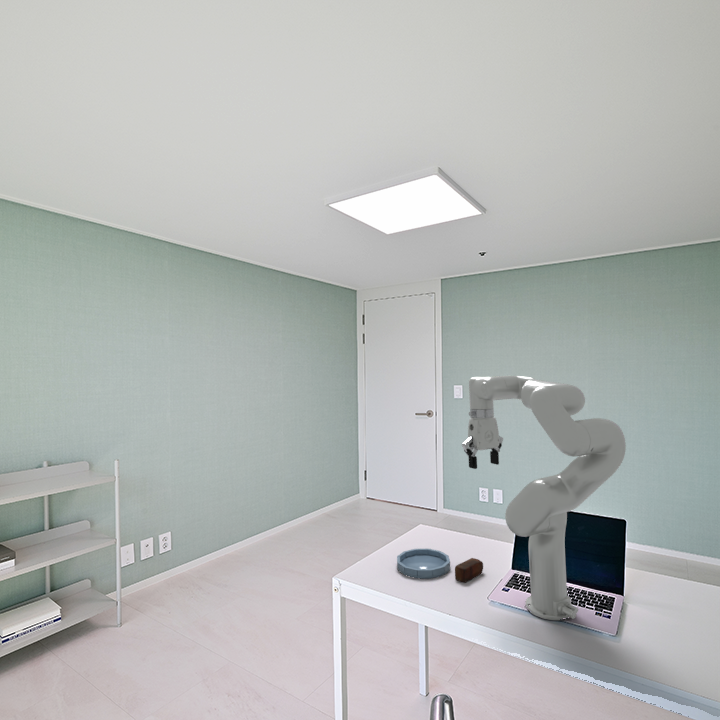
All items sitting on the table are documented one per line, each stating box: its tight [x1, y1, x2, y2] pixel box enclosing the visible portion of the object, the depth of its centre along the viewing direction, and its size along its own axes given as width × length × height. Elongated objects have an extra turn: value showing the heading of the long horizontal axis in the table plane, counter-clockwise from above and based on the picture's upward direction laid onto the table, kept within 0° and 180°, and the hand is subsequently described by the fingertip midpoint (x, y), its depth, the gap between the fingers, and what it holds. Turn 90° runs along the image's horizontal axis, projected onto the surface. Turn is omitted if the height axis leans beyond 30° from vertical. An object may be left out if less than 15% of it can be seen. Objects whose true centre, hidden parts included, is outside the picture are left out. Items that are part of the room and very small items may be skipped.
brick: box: [454, 557, 484, 584], centre depth 151 cm, size 11×4×5 cm, turn 132°
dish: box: [396, 548, 451, 580], centre depth 160 cm, size 18×18×3 cm
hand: (484, 465), depth 152 cm, fingers open, 9 cm apart
